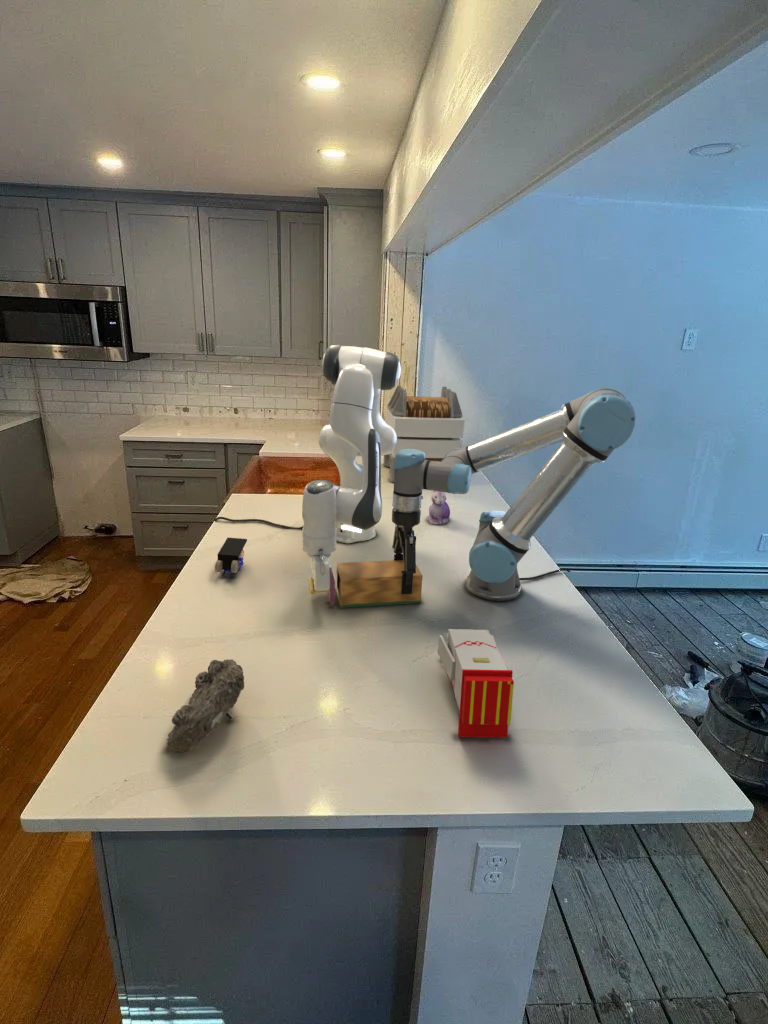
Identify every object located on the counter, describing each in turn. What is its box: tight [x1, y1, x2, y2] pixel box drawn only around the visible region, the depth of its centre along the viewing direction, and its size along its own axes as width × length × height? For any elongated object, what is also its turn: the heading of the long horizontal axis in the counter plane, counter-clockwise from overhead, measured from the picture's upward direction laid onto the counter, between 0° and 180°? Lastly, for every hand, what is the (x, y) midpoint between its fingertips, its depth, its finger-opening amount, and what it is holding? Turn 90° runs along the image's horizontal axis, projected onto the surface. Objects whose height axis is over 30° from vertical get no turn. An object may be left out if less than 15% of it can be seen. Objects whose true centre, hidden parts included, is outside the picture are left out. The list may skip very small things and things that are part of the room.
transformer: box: [383, 384, 465, 483], centre depth 268 cm, size 34×33×41 cm
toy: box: [437, 628, 515, 738], centre depth 117 cm, size 12×13×30 cm
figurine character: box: [214, 537, 248, 578], centre depth 166 cm, size 7×8×15 cm
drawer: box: [307, 566, 341, 605], centre depth 153 cm, size 26×9×6 cm, turn 101°
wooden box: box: [335, 559, 423, 609], centre depth 155 cm, size 22×10×8 cm, turn 101°
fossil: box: [166, 658, 245, 754], centre depth 106 cm, size 22×10×15 cm
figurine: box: [427, 491, 451, 525], centre depth 211 cm, size 9×10×15 cm
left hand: (319, 590), depth 152 cm, fingers closed
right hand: (402, 584), depth 156 cm, fingers closed on wooden box, 10 cm apart
